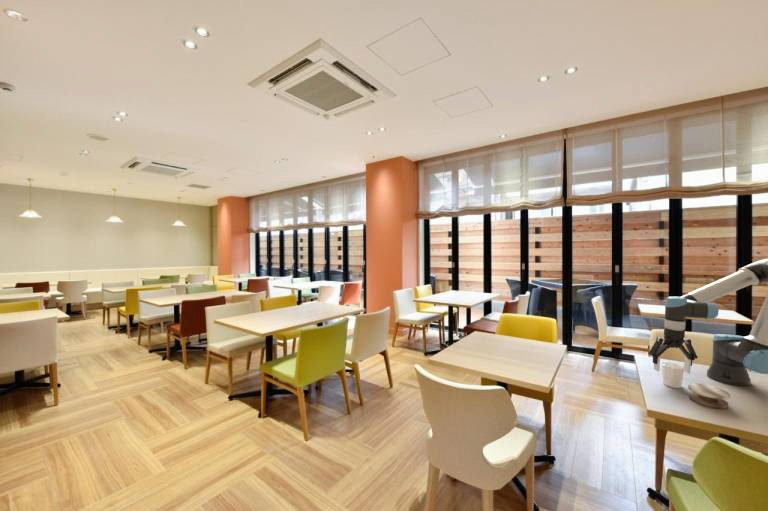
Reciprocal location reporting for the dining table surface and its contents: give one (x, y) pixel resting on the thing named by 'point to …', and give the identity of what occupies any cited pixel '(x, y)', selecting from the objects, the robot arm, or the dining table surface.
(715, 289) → the robot arm
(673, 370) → the white cup
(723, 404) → the cake stand
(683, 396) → the dining table surface
